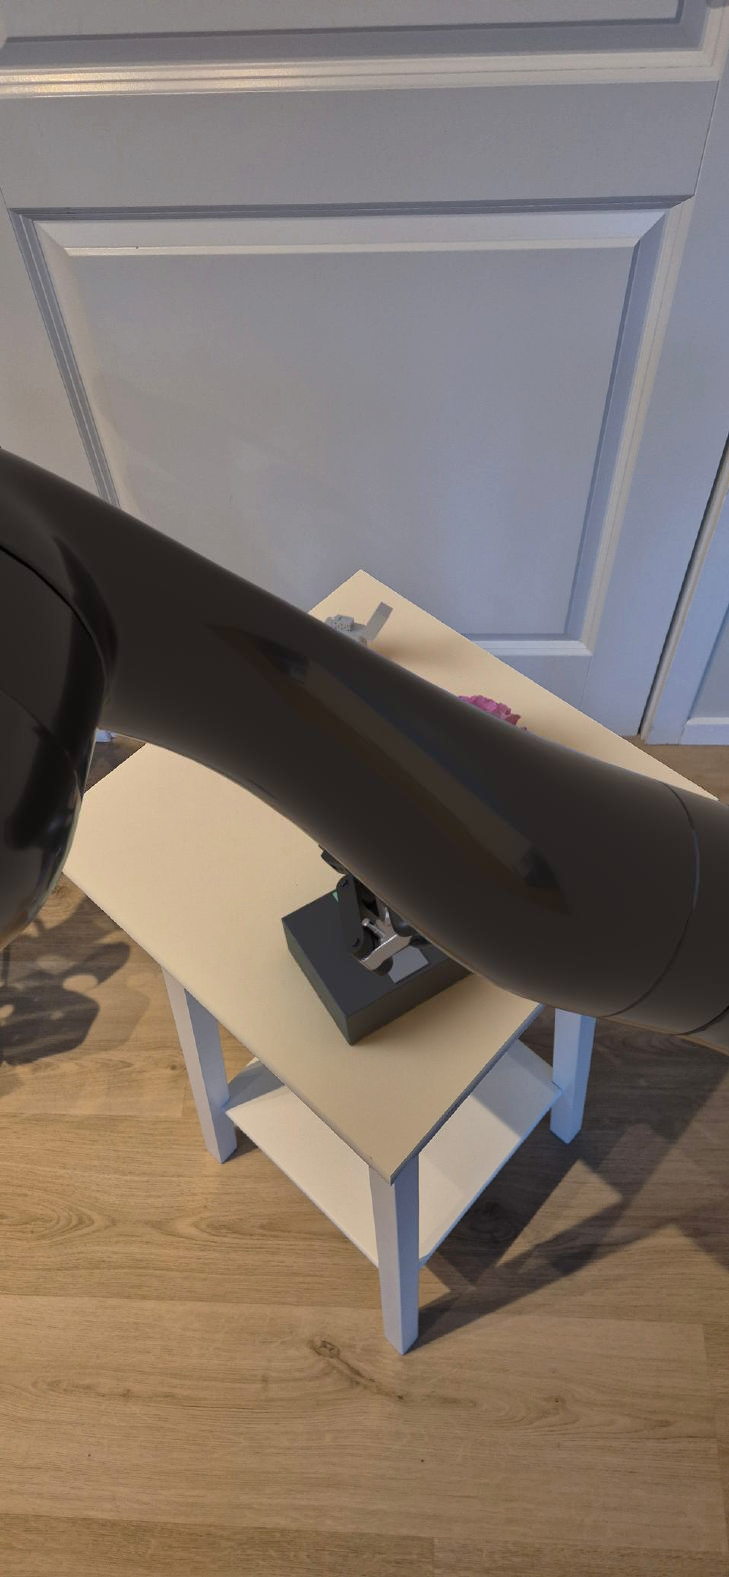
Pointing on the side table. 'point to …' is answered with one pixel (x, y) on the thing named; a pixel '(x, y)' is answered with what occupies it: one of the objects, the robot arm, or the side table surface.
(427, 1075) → the side table surface
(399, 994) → the switch box
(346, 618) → the lighter
